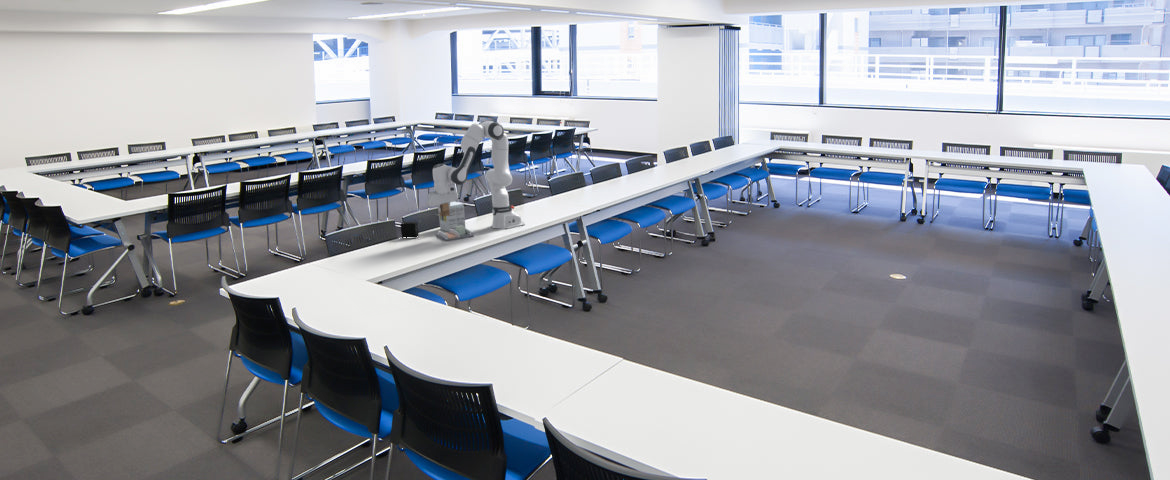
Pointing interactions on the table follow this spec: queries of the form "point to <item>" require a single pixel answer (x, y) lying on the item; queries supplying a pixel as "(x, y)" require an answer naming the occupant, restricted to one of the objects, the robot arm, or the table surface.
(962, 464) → the table surface
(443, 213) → the walnut plug
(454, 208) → the supplement box
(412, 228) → the electronic device
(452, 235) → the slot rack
